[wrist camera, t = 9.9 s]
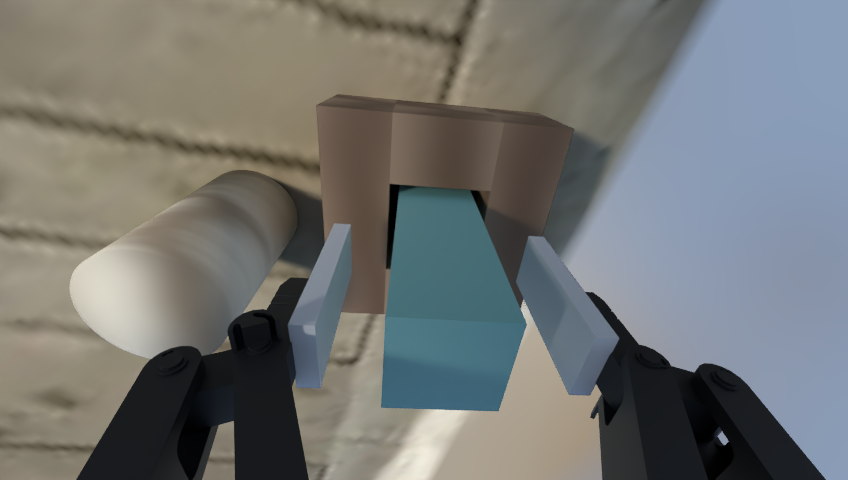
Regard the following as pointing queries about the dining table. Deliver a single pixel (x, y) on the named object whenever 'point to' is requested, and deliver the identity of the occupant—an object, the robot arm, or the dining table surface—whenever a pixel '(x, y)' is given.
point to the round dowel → (187, 267)
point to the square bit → (447, 307)
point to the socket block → (433, 176)
